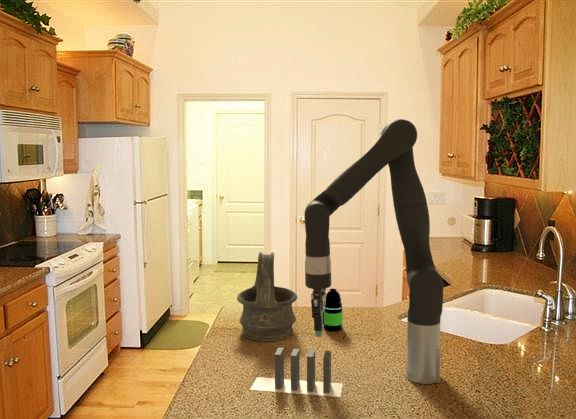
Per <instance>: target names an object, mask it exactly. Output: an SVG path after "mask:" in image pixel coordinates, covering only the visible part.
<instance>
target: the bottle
mask: <svg viewBox="0 0 576 419" xmlns="http://www.w3.org/2000/svg"><path fill="white" fill-rule="evenodd" d="M323 312H324V324H323V331H327V332H331V333H332V332H334V333H335V332H340V331H342V330H343V329H344V328H343V302H342V297H341V293H340V292H339V291H337V288H330V289H329V290H328V291H326V306H325V311H323Z"/></svg>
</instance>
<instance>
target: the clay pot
mask: <svg viewBox="0 0 576 419" xmlns="http://www.w3.org/2000/svg"><path fill="white" fill-rule="evenodd" d="M274 264H275V253H274V252H270V254H264V253H263V252H258V256H257V267H256V274H255V275H256V276H255V280H254V284H253V286H251V287H250V288H246V289H244V290H242V291H241V292H238V294H237V295H236V296H237V297H236V300H237V302H238V303H240V304H241V305H242V307H243V308H242V313H241V314H240V317H239V319H238V321H239V323H240V325H241V326H242V330H241V334H242V336H243V337H244V338H246V339H249V340H251V341H256V342H273V341H282V340H284V339H287V338H289V337H291V336H292V335H293V334H294V328H293V325H294V324H295V323H296V320H297V317H296V316H295V313H294V311H293V303H295V302H296V301H297V300H298V295H297V294H296V292H294V291H293V290H291V289H289V288H287V287H282V286H275V268H274V266H275V265H274Z"/></svg>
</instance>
